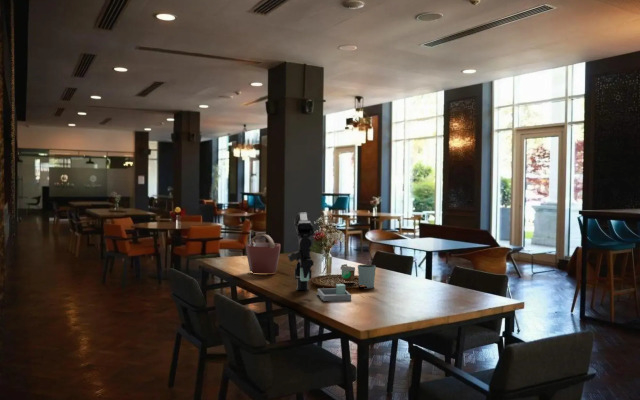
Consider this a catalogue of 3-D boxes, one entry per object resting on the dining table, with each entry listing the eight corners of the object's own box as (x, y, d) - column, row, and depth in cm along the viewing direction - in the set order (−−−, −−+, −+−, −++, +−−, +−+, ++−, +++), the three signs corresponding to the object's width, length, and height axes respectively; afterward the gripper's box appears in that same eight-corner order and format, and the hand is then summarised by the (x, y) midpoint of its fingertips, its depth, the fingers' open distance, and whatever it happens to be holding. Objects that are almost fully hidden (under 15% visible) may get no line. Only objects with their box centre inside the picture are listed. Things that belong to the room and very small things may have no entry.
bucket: (242, 271, 339) (242, 233, 338) (274, 268, 348) (274, 232, 347) (252, 277, 316) (252, 237, 316) (286, 274, 325) (286, 235, 324)
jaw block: (300, 279, 260) (300, 267, 260) (307, 279, 261) (307, 267, 261) (301, 281, 256) (301, 269, 256) (309, 280, 257) (309, 269, 257)
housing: (317, 294, 268) (317, 282, 267) (343, 293, 270) (343, 281, 270) (323, 302, 251) (323, 288, 251) (351, 300, 253) (351, 287, 253)
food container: (337, 281, 304) (337, 264, 304) (346, 280, 306) (346, 264, 306) (345, 285, 293) (345, 267, 292) (355, 284, 295) (355, 267, 295)
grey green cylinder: (354, 287, 286) (354, 266, 286) (361, 284, 295) (362, 263, 295) (371, 289, 282) (371, 267, 281) (378, 286, 291) (378, 265, 290)
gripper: (286, 244, 266) (286, 274, 266) (291, 249, 247) (291, 281, 248) (307, 244, 268) (307, 273, 268) (313, 248, 249) (313, 280, 250)
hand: (304, 277), depth 258 cm, fingers closed on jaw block, 4 cm apart
